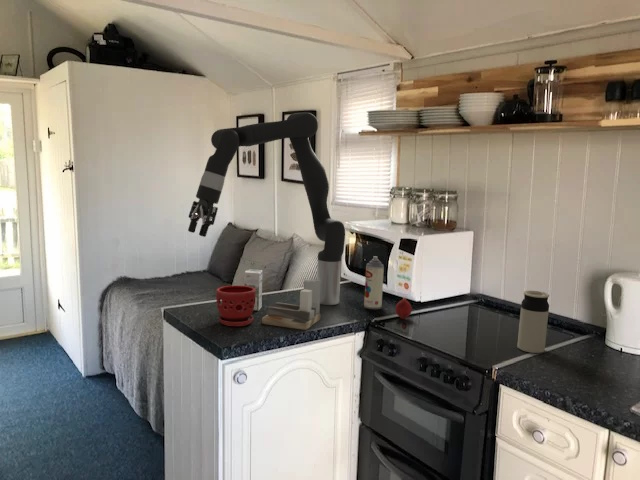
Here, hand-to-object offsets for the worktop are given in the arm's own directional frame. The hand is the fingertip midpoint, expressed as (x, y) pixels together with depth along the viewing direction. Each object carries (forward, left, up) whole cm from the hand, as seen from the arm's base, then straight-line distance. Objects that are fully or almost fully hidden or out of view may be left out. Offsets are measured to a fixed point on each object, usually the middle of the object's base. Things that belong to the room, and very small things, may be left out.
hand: (196, 234), depth 179 cm
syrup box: (-23, +10, -30) cm, 39 cm away
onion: (-36, +64, -30) cm, 79 cm away
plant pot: (-5, +13, -30) cm, 33 cm away
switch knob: (-15, +34, -28) cm, 46 cm away
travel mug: (-22, +107, -30) cm, 113 cm away
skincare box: (-29, +31, -30) cm, 52 cm away
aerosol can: (-47, +50, -30) cm, 75 cm away
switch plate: (-15, +29, -30) cm, 44 cm away
